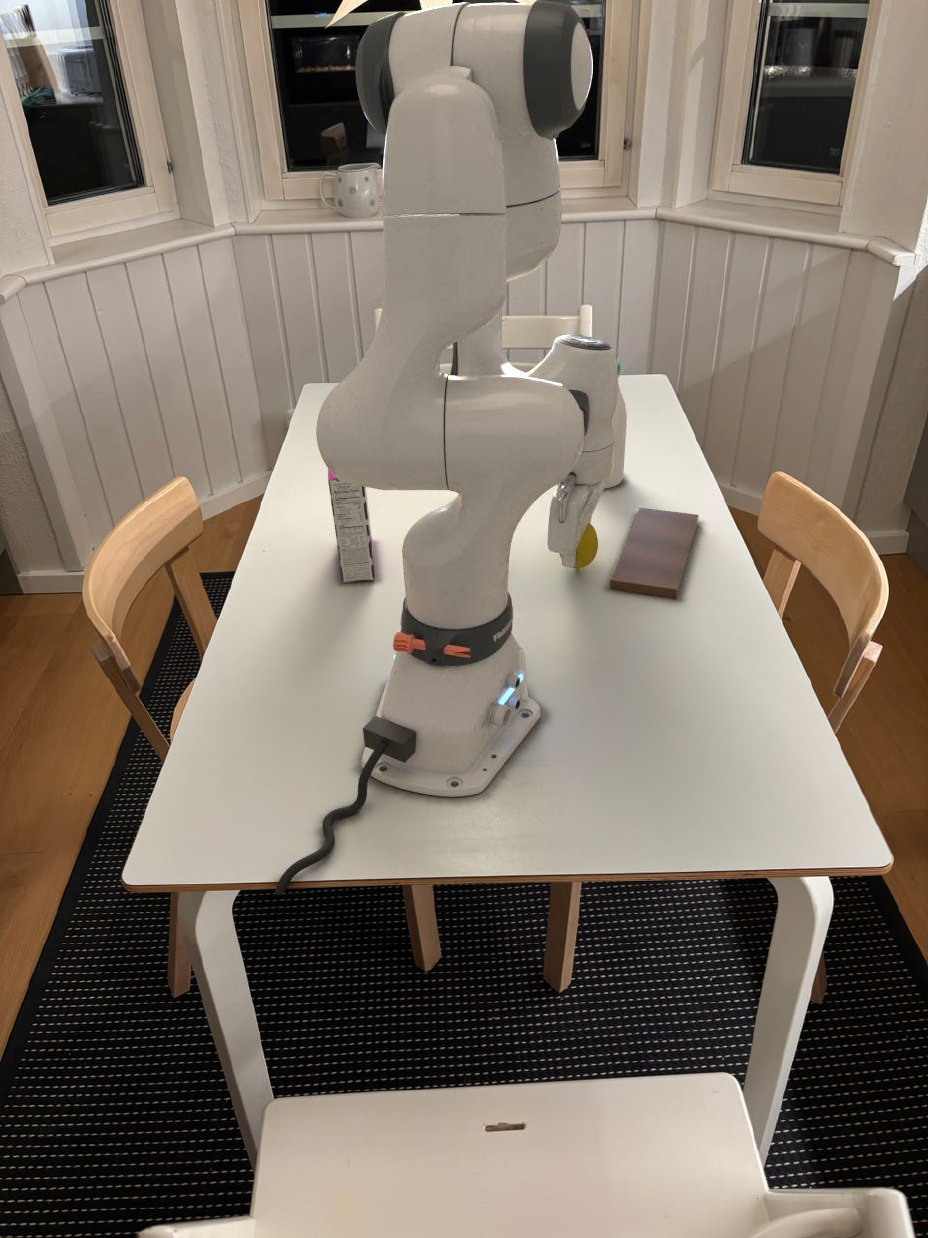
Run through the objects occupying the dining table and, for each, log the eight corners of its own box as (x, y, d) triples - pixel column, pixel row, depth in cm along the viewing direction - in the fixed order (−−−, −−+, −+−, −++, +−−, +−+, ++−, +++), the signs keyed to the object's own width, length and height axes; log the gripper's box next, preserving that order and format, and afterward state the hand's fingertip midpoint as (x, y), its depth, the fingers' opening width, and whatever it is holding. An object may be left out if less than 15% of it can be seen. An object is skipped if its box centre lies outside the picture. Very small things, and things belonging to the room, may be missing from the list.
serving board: (676, 599, 128) (677, 589, 127) (609, 589, 130) (610, 579, 129) (697, 523, 145) (698, 514, 144) (638, 516, 147) (639, 507, 146)
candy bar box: (339, 545, 143) (326, 443, 133) (372, 542, 143) (362, 441, 134) (340, 584, 133) (326, 478, 124) (375, 581, 134) (365, 475, 125)
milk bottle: (610, 466, 162) (617, 350, 151) (631, 485, 156) (639, 366, 145) (568, 473, 160) (572, 357, 149) (587, 493, 154) (593, 373, 143)
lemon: (594, 580, 132) (597, 530, 128) (555, 577, 133) (556, 527, 129) (598, 560, 137) (601, 510, 132) (559, 557, 138) (561, 508, 133)
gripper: (586, 496, 117) (582, 591, 124) (617, 431, 132) (612, 519, 140) (536, 490, 118) (535, 584, 126) (573, 426, 134) (570, 513, 142)
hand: (576, 549), depth 133 cm, fingers open, 7 cm apart
